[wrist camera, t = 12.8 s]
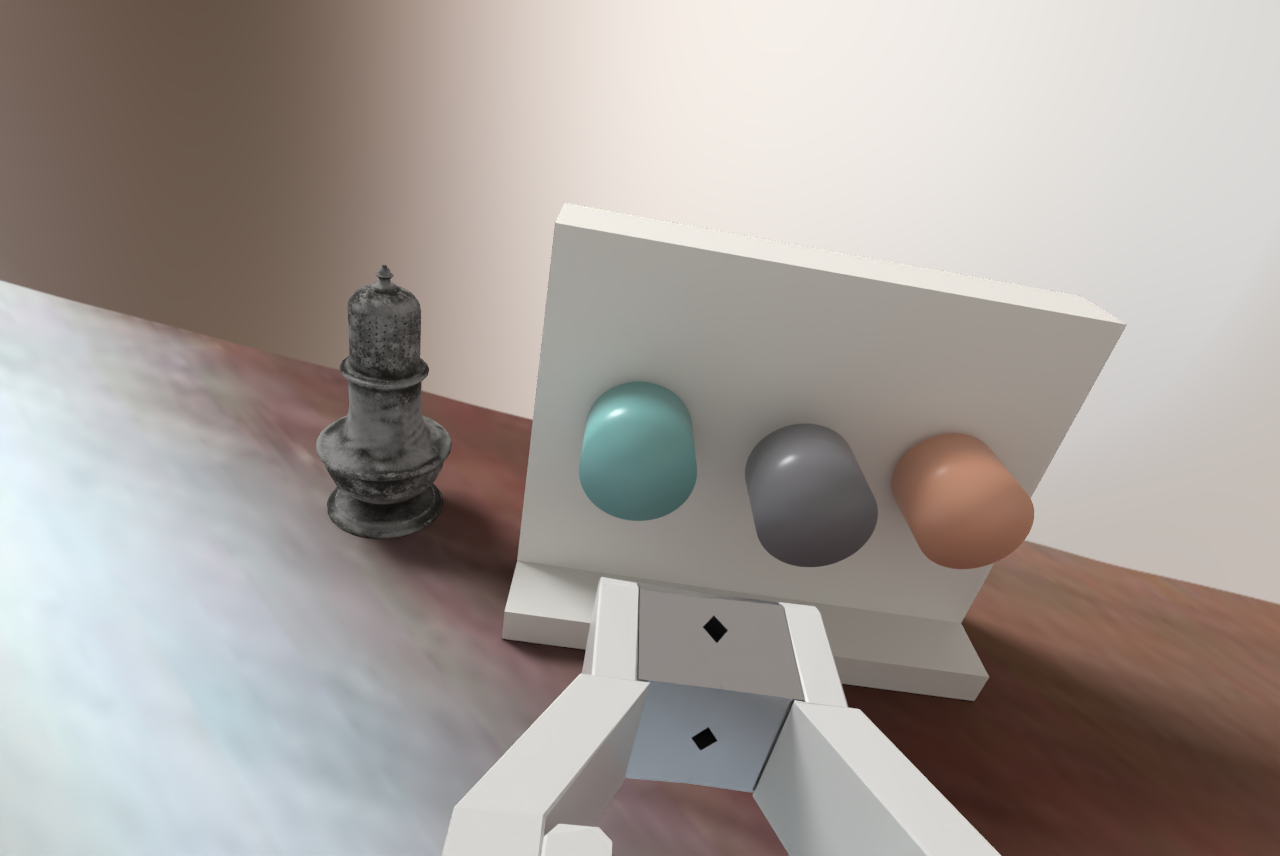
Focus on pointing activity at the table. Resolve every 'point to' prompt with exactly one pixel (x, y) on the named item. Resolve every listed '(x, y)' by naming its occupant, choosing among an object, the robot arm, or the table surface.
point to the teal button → (638, 452)
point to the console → (787, 423)
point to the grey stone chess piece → (384, 421)
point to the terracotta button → (961, 501)
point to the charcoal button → (809, 496)
